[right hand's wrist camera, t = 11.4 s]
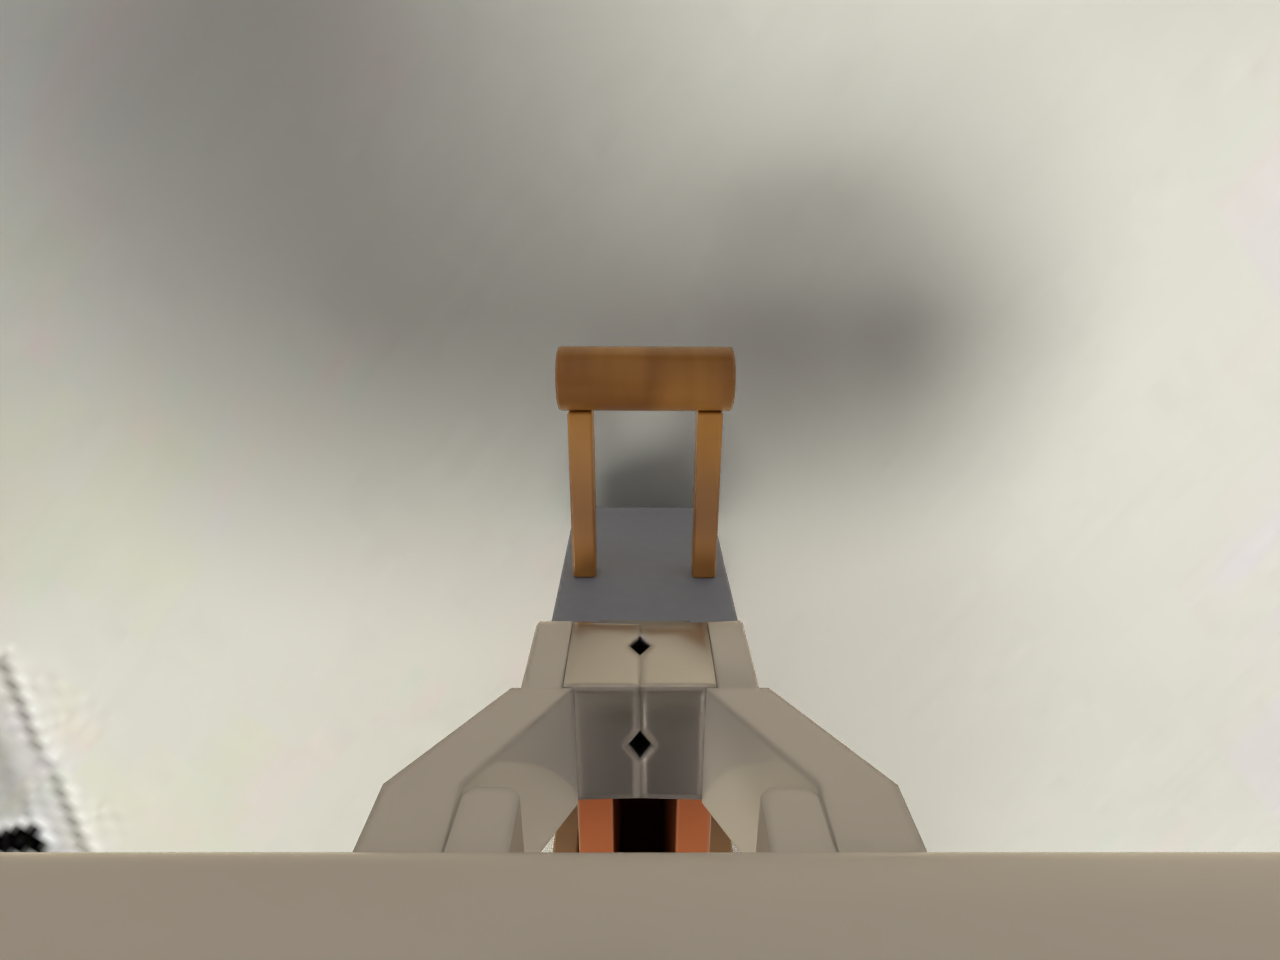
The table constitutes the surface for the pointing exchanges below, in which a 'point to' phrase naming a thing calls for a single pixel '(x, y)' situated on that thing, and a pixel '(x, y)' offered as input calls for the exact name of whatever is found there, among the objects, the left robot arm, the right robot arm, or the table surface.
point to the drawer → (644, 546)
